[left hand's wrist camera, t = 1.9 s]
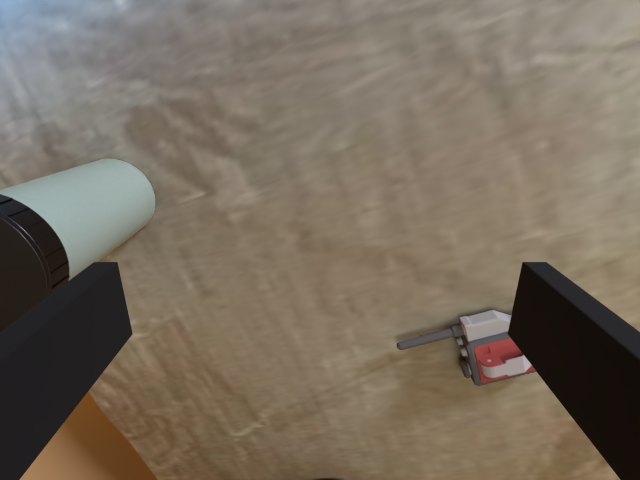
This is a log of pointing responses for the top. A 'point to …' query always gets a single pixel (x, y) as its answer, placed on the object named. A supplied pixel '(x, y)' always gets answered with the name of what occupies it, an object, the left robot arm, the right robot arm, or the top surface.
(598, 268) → the top surface
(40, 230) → the lid
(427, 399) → the top surface
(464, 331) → the walkie-talkie
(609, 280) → the top surface
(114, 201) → the jar
